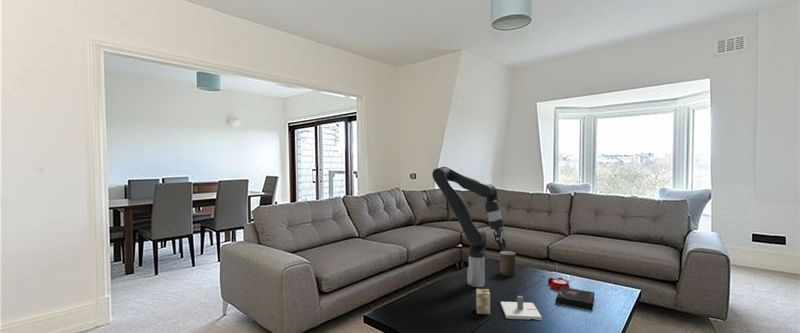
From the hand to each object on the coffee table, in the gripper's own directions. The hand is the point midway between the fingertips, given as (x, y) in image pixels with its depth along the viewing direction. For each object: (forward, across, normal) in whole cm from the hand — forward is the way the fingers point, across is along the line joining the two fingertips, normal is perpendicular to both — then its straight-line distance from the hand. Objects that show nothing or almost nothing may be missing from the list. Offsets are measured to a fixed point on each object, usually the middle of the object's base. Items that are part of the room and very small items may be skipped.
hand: (503, 248), depth 200 cm
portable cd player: (+34, -10, +27) cm, 45 cm away
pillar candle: (+20, -39, -10) cm, 45 cm away
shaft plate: (+29, +16, +4) cm, 34 cm away
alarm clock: (+30, -29, +19) cm, 46 cm away
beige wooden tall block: (+25, +24, -12) cm, 37 cm away
